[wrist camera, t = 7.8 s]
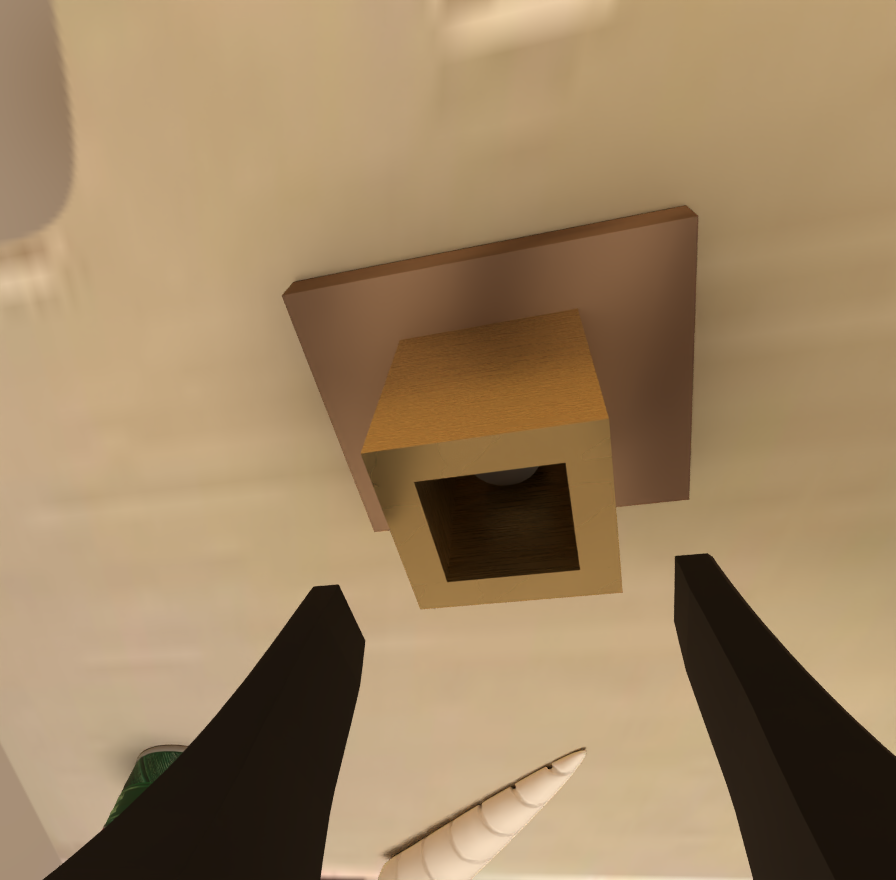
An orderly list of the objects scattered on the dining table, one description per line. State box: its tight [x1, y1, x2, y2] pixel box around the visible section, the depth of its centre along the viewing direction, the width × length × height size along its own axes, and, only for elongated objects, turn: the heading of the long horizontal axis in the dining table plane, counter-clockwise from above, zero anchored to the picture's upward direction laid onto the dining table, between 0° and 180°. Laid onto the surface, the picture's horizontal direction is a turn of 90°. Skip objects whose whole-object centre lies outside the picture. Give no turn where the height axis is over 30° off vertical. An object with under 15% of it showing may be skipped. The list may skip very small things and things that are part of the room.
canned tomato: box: [102, 745, 187, 830], centre depth 35 cm, size 8×8×11 cm
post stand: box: [282, 206, 698, 532], centre depth 18 cm, size 12×10×4 cm
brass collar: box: [360, 308, 623, 609], centre depth 16 cm, size 6×6×6 cm
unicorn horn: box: [378, 750, 586, 880], centre depth 38 cm, size 5×24×5 cm, turn 147°
